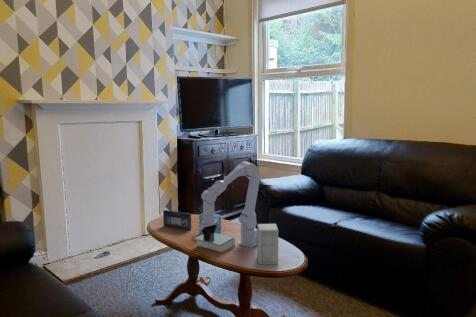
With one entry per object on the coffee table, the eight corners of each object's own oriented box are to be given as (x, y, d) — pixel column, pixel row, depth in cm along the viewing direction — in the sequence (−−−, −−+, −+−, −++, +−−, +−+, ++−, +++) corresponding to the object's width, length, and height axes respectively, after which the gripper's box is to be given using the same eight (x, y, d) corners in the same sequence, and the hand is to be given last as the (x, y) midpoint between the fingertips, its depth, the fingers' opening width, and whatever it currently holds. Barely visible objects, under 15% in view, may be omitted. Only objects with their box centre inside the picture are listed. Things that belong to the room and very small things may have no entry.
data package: (221, 235, 214) (221, 214, 212) (217, 237, 210) (217, 216, 209) (203, 231, 220) (203, 211, 218) (199, 233, 216) (198, 213, 214)
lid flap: (233, 238, 197) (233, 230, 196) (220, 246, 186) (220, 237, 186) (208, 232, 205) (208, 224, 205) (194, 239, 195) (194, 230, 194)
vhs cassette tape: (163, 226, 228) (162, 210, 227) (166, 225, 231) (165, 209, 229) (188, 231, 220) (188, 214, 219) (191, 229, 223) (191, 213, 221)
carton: (235, 245, 199) (235, 238, 198) (222, 253, 189) (222, 245, 188) (210, 239, 207) (210, 232, 207) (197, 246, 197) (197, 238, 197)
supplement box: (275, 256, 186) (276, 223, 183) (278, 264, 176) (279, 229, 174) (256, 256, 185) (257, 223, 183) (258, 264, 176) (258, 229, 174)
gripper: (210, 209, 198) (211, 234, 200) (193, 216, 186) (193, 242, 188) (221, 211, 194) (221, 236, 196) (204, 218, 182) (204, 245, 184)
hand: (208, 239), depth 192 cm, fingers closed on lid flap, 2 cm apart
